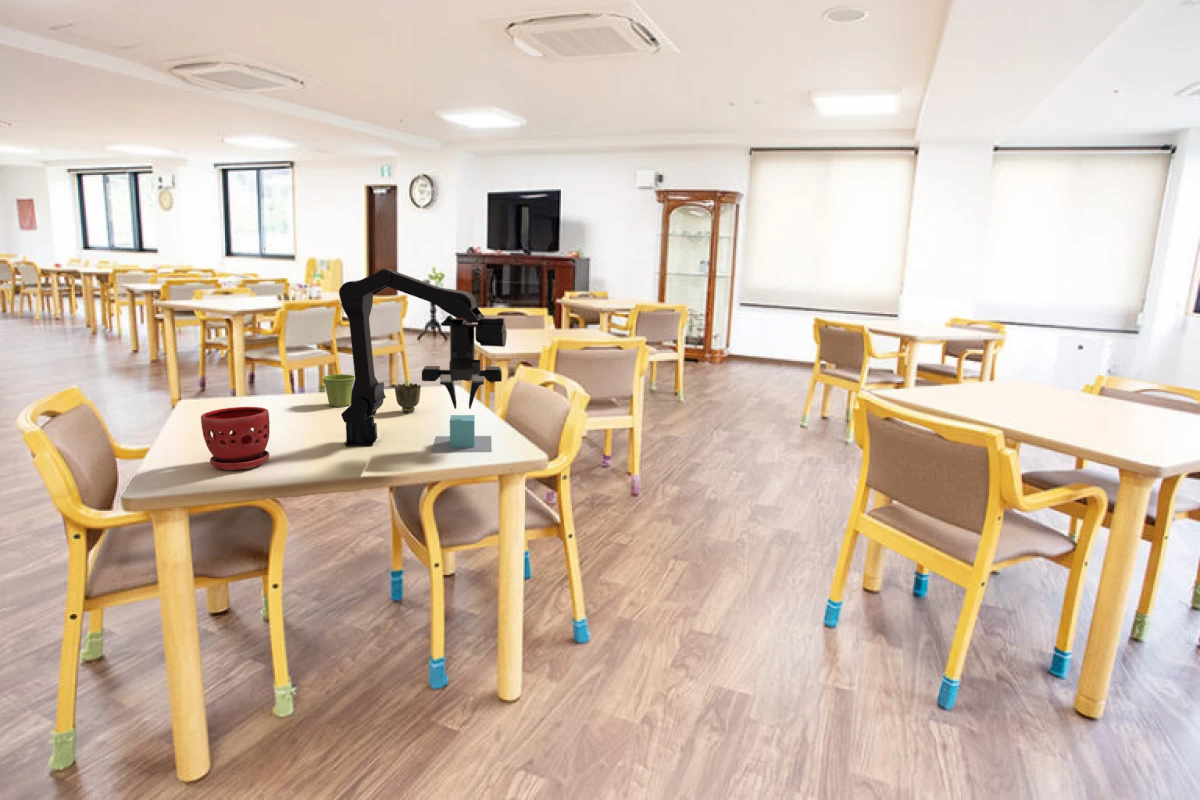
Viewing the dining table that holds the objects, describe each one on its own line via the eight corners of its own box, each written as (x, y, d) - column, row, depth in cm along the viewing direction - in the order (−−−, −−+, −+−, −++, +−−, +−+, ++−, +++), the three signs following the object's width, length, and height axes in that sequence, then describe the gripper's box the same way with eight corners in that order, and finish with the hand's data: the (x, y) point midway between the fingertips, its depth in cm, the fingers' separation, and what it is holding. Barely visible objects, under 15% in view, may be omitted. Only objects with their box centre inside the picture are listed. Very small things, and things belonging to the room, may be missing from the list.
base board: (431, 456, 162) (431, 452, 162) (435, 439, 176) (435, 436, 175) (491, 455, 164) (491, 451, 164) (491, 439, 178) (491, 435, 178)
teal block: (450, 447, 166) (449, 420, 165) (450, 440, 172) (450, 415, 171) (474, 447, 167) (474, 420, 166) (474, 440, 173) (474, 415, 172)
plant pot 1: (282, 456, 158) (278, 405, 156) (256, 474, 145) (251, 419, 143) (224, 454, 158) (219, 403, 155) (192, 473, 145) (187, 418, 142)
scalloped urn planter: (394, 415, 198) (394, 388, 197) (395, 409, 205) (394, 383, 203) (421, 414, 200) (421, 387, 199) (421, 408, 207) (420, 382, 205)
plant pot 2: (322, 402, 210) (320, 374, 208) (354, 400, 214) (353, 373, 212) (324, 409, 202) (322, 380, 200) (358, 407, 206) (356, 379, 204)
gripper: (418, 349, 155) (420, 416, 158) (502, 350, 158) (501, 416, 162) (423, 342, 166) (424, 405, 169) (501, 343, 169) (500, 405, 172)
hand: (462, 408), depth 168 cm, fingers open, 3 cm apart
